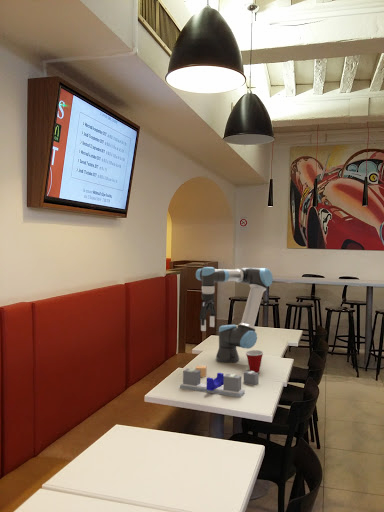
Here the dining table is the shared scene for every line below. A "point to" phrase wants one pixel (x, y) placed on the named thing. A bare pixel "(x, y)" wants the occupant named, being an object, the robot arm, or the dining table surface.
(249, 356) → the plastic cup
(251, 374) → the block
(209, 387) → the cable clip
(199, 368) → the terminal block
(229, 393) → the rail fixture
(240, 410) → the dining table surface
